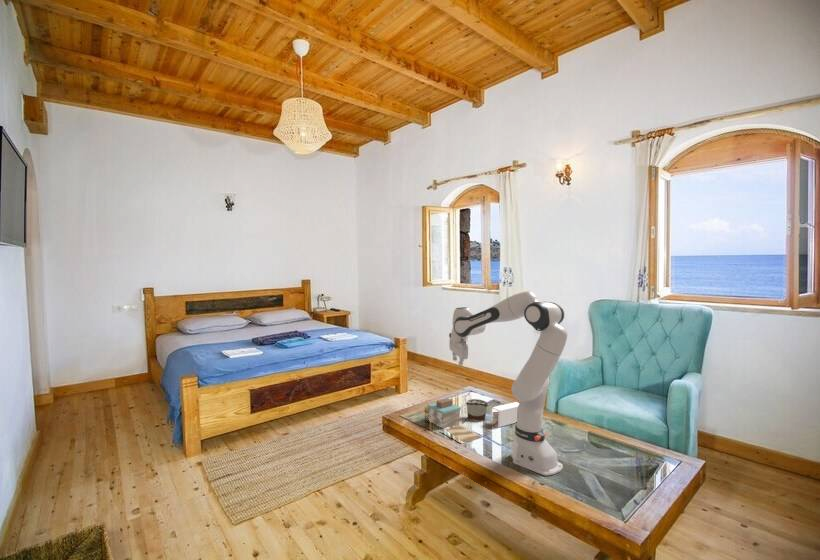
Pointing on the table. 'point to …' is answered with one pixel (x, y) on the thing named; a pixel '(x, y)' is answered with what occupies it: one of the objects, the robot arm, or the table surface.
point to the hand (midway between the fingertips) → (457, 362)
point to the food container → (476, 409)
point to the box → (444, 418)
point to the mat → (463, 434)
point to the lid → (444, 406)
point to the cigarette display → (505, 414)
